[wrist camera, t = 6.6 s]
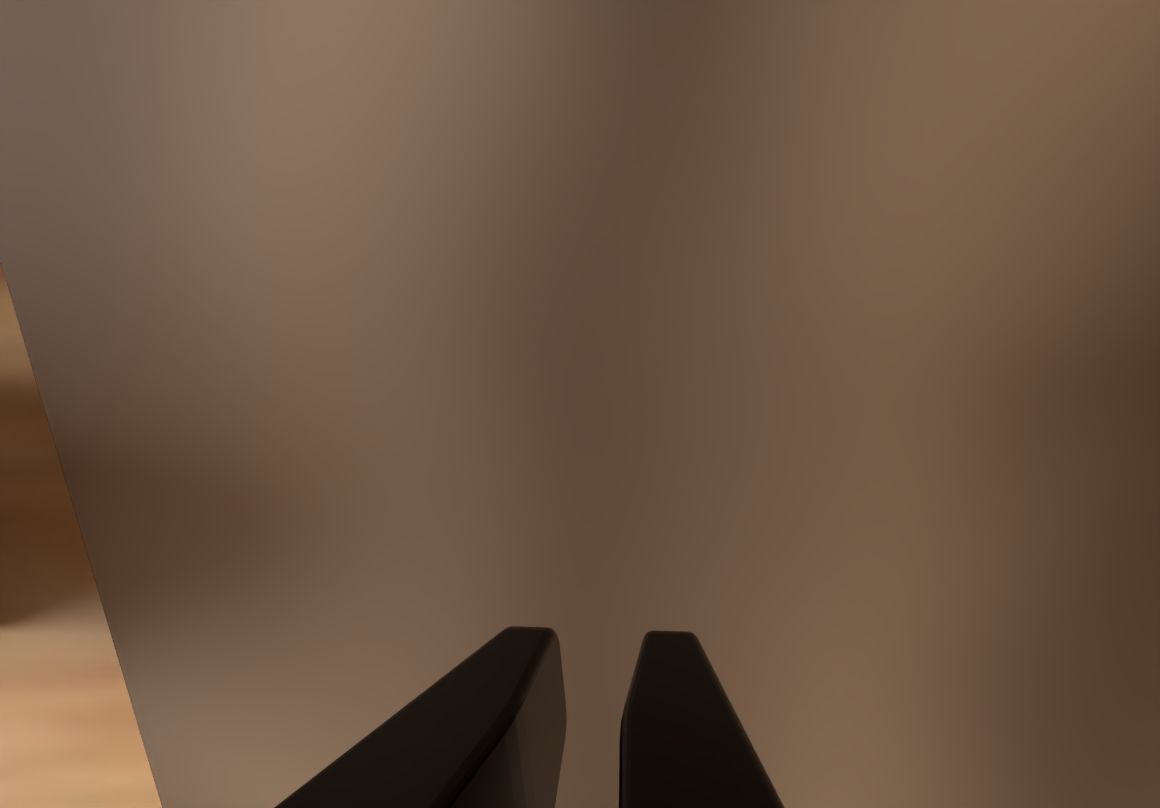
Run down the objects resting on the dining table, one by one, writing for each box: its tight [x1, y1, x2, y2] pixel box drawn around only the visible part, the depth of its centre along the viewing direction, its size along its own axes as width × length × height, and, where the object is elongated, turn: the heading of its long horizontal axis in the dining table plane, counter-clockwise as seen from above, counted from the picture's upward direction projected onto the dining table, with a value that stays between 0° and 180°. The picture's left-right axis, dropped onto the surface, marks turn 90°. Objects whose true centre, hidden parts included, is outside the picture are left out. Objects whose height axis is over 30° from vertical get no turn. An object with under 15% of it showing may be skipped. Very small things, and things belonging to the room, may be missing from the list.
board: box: [0, 0, 1160, 808], centre depth 11 cm, size 14×16×4 cm
